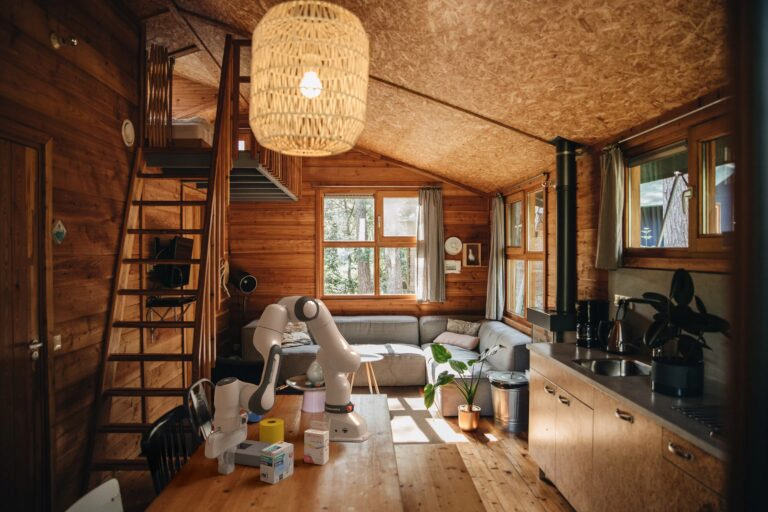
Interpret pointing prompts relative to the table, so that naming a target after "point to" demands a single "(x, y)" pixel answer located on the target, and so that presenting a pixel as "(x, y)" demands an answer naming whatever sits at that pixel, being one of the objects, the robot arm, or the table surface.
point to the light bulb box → (276, 462)
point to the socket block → (250, 452)
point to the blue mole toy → (251, 416)
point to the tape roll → (272, 430)
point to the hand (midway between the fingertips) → (226, 461)
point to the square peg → (227, 461)
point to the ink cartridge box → (316, 443)
